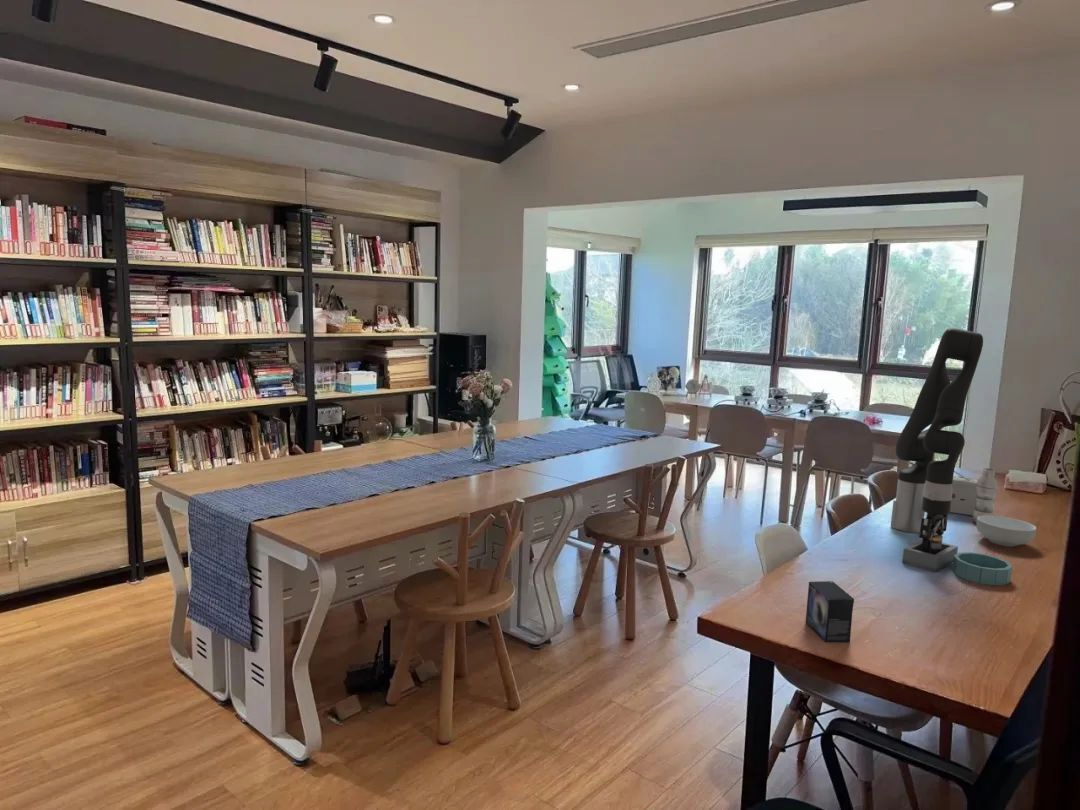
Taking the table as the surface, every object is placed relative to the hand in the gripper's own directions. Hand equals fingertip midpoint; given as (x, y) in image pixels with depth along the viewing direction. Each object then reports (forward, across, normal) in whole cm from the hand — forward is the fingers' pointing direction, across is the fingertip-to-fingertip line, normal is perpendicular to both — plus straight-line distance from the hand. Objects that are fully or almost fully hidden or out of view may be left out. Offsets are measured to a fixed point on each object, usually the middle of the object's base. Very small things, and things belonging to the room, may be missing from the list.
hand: (931, 548), depth 222 cm
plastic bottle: (+4, -59, -4) cm, 59 cm away
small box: (+4, +72, +4) cm, 72 cm away
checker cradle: (+4, 0, 0) cm, 4 cm away
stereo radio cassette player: (+4, -68, -17) cm, 70 cm away
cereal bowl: (+4, -41, +8) cm, 42 cm away
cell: (+3, 0, 0) cm, 3 cm away
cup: (+4, 0, +14) cm, 15 cm away
